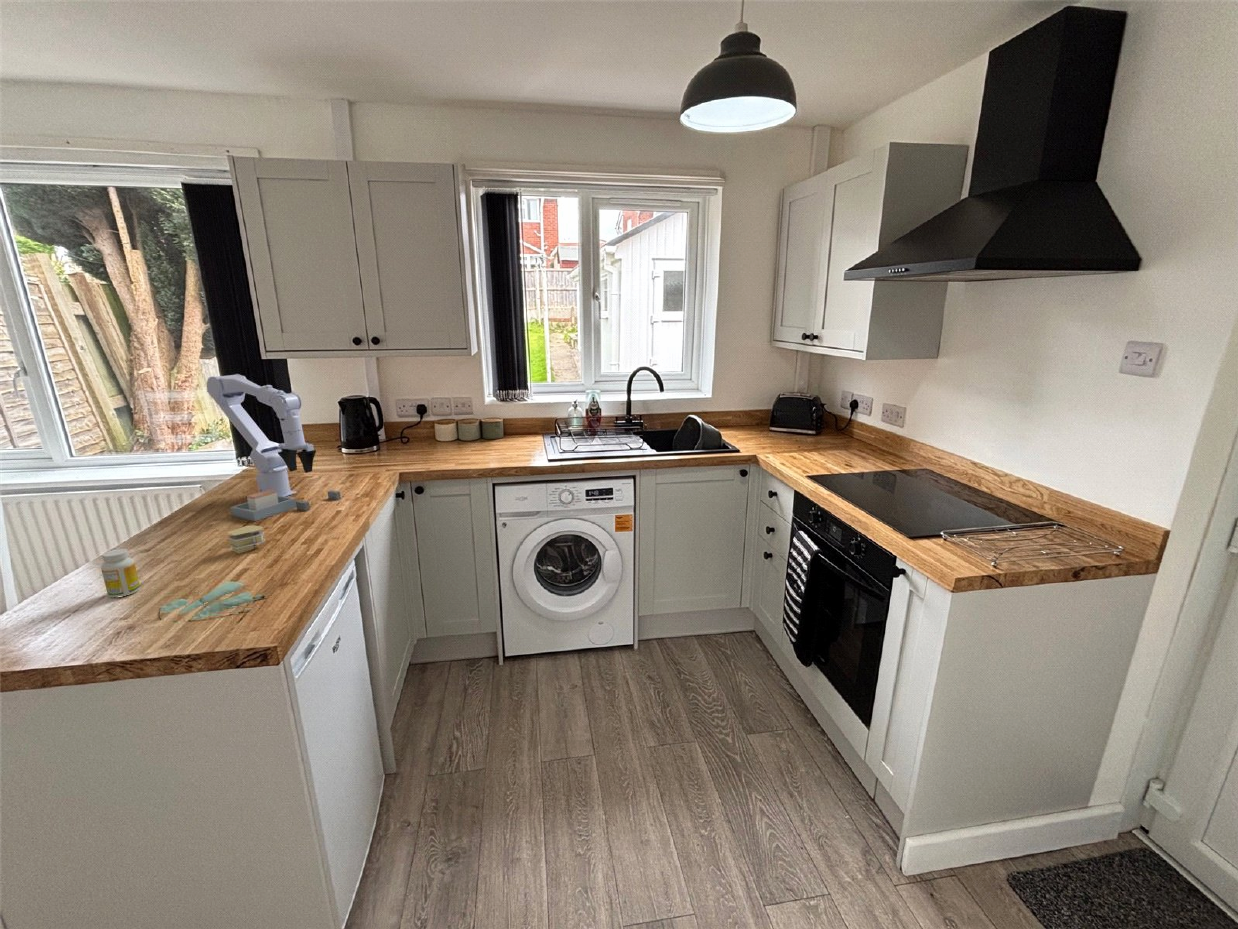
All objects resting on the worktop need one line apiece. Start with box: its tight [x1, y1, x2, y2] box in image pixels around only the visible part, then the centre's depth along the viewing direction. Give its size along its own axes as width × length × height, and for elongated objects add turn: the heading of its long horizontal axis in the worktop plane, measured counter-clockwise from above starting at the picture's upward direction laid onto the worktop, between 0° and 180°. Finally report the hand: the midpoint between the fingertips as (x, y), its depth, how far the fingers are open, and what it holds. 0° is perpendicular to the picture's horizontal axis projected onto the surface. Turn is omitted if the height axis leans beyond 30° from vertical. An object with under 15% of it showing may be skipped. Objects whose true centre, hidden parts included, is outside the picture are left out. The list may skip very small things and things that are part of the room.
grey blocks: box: [296, 489, 342, 512], centre depth 176 cm, size 4×13×2 cm, turn 157°
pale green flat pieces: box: [161, 580, 266, 619], centre depth 116 cm, size 20×22×2 cm
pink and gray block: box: [246, 490, 279, 511], centre depth 169 cm, size 4×7×6 cm, turn 157°
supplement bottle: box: [100, 548, 141, 598], centre depth 118 cm, size 5×5×10 cm
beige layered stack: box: [226, 525, 266, 555], centre depth 142 cm, size 10×9×6 cm
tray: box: [229, 495, 297, 522], centre depth 169 cm, size 11×14×3 cm
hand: (301, 471), depth 180 cm, fingers open, 7 cm apart
